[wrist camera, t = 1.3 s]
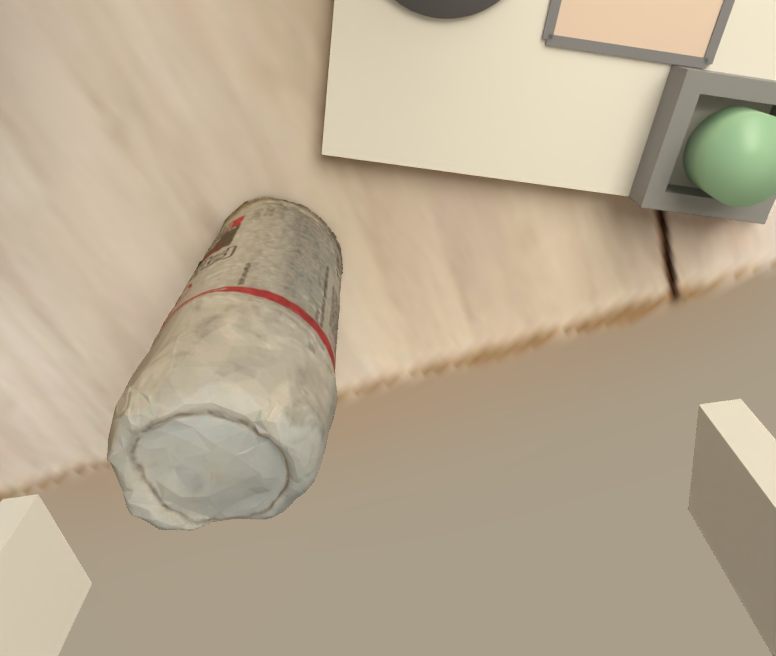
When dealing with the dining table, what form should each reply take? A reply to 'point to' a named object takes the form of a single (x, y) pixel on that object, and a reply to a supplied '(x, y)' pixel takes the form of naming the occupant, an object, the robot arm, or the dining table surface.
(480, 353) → the dining table surface
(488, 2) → the pad
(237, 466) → the spray can
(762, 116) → the button
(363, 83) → the cream board
